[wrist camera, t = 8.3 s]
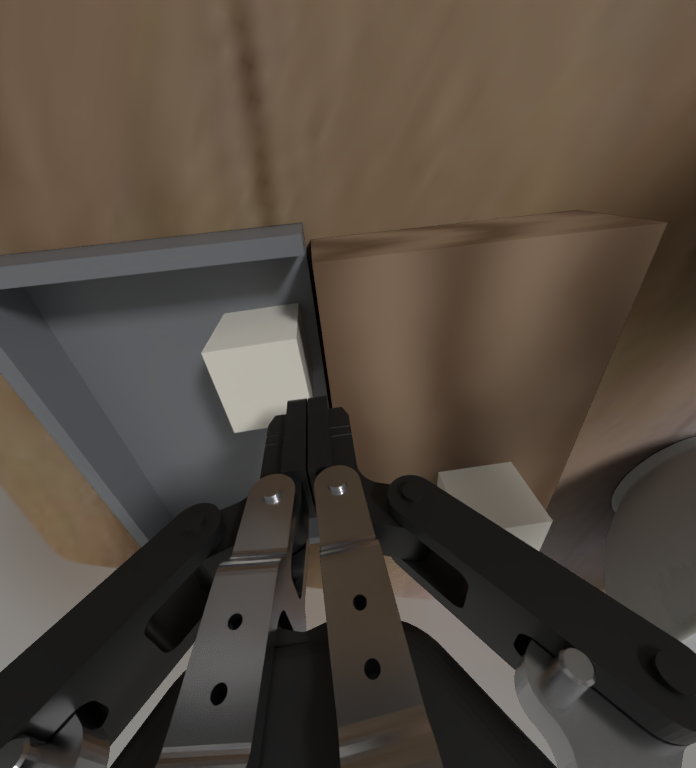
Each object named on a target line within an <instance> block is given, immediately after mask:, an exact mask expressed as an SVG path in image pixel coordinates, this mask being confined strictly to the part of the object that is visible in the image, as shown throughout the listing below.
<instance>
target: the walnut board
mask: <svg viewBox="0 0 696 768" xmlns="http://www.w3.org/2000/svg"><path fill="white" fill-rule="evenodd" d="M667 223H668V222H660V221H653V220H646V219H639V218H632V217H624V216H617V215H610V214H603V213H596V212H589V211H581V210H574V211H565V212H556V213H547V214H538V215H529V216H520V217H511V218H502V219H493V220H484V221H475V222H466V223H457V224H448V225H439V226H430V227H421V228H412V229H403V230H394V231H384V232H375V233H366V234H357V235H348V236H339V237H330V238H321V239H312V240H311V252H312V265H313V272H314V280H315V287H316V294H317V301H318V308H319V315H320V322H321V329H322V336H323V344H324V351H325V358H326V365H327V372H328V379H329V386H330V393H331V400H332V408H336V407H342V408H343V409H344V410H345V411H346V412H347V413H348V414H349V420H350V426H351V432H352V438H353V444H354V450H355V456H356V462H357V467H358V469H359V471H360V472H361V474H362V475H363V476H364V477H366V478H367V479H369V480H371V481H374V482H378V483H385V484H391V483H392V482H393V481H394V480H395V479H397V478H398V477H401V476H404V475H416V476H420V477H423V478H425V479H427V480H428V481H430V482H431V483H433V484H435V485H436V486H437V481H438V472H443V471H449V470H456V469H463V468H470V467H477V466H484V465H491V464H498V463H505V462H512V464H513V465H514V467H515V468H516V469H517V471H518V472H519V474H520V475H521V476H522V478H523V479H524V481H525V482H526V484H527V485H528V486H529V488H530V489H531V491H532V492H533V493H534V495H535V496H536V498H537V499H538V500H539V502H540V503H541V505H542V506H543V508H544V509H545V510H547V508H548V505H549V503H550V500H551V498H552V496H553V493H554V491H555V489H556V486H557V484H558V481H559V479H560V477H561V474H562V472H563V470H564V467H565V465H566V462H567V460H568V458H569V455H570V453H571V451H572V448H573V446H574V444H575V441H576V439H577V436H578V434H579V432H580V429H581V427H582V425H583V422H584V420H585V417H586V415H587V413H588V410H589V408H590V406H591V403H592V401H593V398H594V396H595V394H596V391H597V389H598V387H599V384H600V382H601V379H602V377H603V375H604V372H605V370H606V368H607V365H608V363H609V360H610V358H611V356H612V353H613V351H614V349H615V346H616V344H617V342H618V339H619V337H620V334H621V332H622V330H623V327H624V325H625V323H626V320H627V318H628V315H629V313H630V311H631V308H632V306H633V304H634V301H635V299H636V296H637V294H638V292H639V289H640V287H641V285H642V282H643V280H644V277H645V275H646V273H647V270H648V268H649V266H650V263H651V261H652V258H653V256H654V254H655V251H656V249H657V247H658V244H659V242H660V239H661V237H662V235H663V232H664V230H665V228H666V225H667Z"/></svg>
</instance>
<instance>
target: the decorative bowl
mask: <svg viewBox="0 0 696 768" xmlns="http://www.w3.org/2000/svg"><path fill="white" fill-rule="evenodd" d="M612 508H613V510H614V512H615V515H614V517H613V519H612V522H611V524H610V527H609V530H608V533H607V536H606V541H605V548H604V582H605V589H606V594H607V595H608V596H610V597H611V598H613V599H615V600H616V601H618V602H619V603H621V604H622V605H624V606H626V607H627V608H629V609H630V610H632V611H633V612H635V613H636V614H638V615H640V616H641V617H643V618H644V619H646V620H647V621H649V622H651V623H652V624H654V625H655V626H657V627H658V628H660V629H662V630H663V631H665V632H666V633H668V634H669V635H671V636H672V637H674V638H676V639H677V640H679V641H680V642H682V643H683V644H685V645H686V646H687V647H689V648H690V649H691V650H692V651H693V652H695V653H696V436H695V437H691V438H688V439H685V440H682V441H680V442H677V443H675V444H673V445H670V446H668V447H666V448H664V449H662V450H660V451H659V452H657V453H655V454H653V455H652V456H650V457H649V458H647V459H646V460H644V461H643V462H642V463H640V464H639V465H638V466H636V467H635V468H634V469H633V470H632V471H631V472H630V473H628V474H627V475H626V477H625V478H624V479H623V480H622V481H621V482H620V484H619V485H618V487H617V488H616V490H615V492H614V494H613V497H612Z"/></svg>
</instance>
